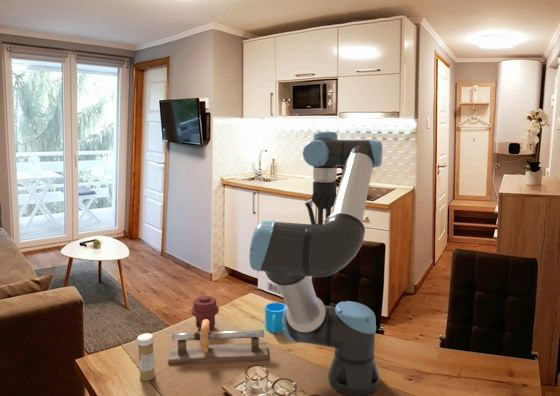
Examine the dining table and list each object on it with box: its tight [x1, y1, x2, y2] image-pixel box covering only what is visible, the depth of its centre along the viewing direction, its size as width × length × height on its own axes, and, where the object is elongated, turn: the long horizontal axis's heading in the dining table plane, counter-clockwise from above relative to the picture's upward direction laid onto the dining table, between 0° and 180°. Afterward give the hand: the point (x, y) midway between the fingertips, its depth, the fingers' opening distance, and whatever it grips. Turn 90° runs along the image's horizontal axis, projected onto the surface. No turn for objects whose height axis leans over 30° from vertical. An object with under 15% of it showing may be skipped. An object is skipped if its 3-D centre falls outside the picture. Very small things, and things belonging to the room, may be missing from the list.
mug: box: [264, 302, 286, 334], centre depth 161 cm, size 12×8×8 cm
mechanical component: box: [191, 295, 220, 332], centre depth 161 cm, size 12×10×10 cm
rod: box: [171, 329, 265, 342], centre depth 143 cm, size 30×2×2 cm, turn 95°
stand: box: [167, 338, 269, 365], centre depth 144 cm, size 8×32×6 cm, turn 95°
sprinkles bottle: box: [136, 332, 156, 382], centre depth 131 cm, size 5×5×13 cm
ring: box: [200, 319, 210, 354], centre depth 143 cm, size 8×2×8 cm, turn 5°
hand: (323, 251), depth 143 cm, fingers closed
